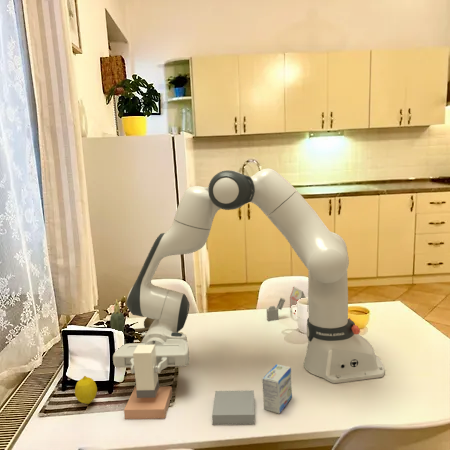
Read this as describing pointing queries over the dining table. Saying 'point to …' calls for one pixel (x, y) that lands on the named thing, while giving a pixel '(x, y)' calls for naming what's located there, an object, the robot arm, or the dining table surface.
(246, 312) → the dining table surface
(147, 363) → the banded sleeve
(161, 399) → the terracotta stand
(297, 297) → the tea bag
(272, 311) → the lighter
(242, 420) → the slate stand
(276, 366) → the medicine box
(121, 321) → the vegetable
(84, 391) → the fruit
